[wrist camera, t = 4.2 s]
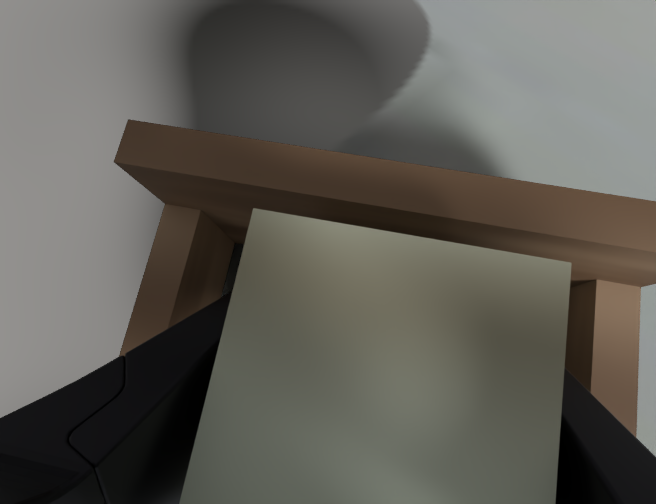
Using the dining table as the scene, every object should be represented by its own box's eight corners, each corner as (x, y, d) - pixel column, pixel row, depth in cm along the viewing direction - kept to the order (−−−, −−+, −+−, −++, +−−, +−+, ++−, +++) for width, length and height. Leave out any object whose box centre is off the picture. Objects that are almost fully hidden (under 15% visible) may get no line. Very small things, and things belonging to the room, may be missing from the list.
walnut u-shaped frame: (554, 539, 14) (740, 707, 7) (150, 443, 16) (-5, 511, 9) (572, 273, 16) (731, 212, 9) (214, 210, 18) (128, 119, 11)
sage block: (420, 459, 15) (545, 647, 5) (283, 429, 15) (167, 549, 6) (439, 319, 16) (571, 262, 6) (311, 294, 17) (253, 208, 7)
